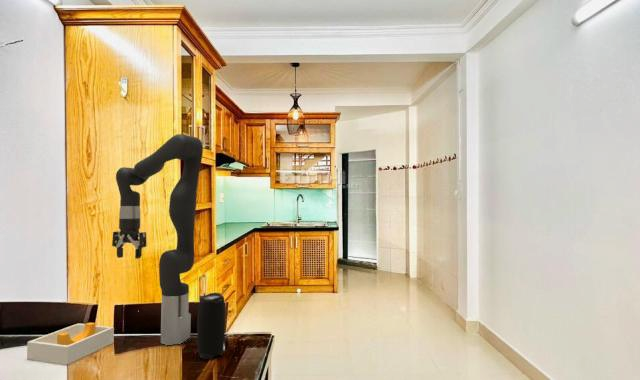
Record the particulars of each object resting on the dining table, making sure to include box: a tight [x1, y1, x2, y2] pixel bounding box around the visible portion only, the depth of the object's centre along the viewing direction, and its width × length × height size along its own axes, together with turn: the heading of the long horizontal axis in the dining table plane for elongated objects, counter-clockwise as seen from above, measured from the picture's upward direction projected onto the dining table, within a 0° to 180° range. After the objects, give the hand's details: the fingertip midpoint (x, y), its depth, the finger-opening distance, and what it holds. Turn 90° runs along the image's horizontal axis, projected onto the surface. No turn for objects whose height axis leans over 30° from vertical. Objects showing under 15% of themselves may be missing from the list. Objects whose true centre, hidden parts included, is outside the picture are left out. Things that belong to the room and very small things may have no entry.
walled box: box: [26, 323, 115, 366], centre depth 121 cm, size 16×18×6 cm
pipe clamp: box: [57, 322, 97, 346], centre depth 121 cm, size 12×4×6 cm, turn 166°
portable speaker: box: [196, 292, 226, 360], centre depth 119 cm, size 9×9×20 cm
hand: (128, 257), depth 143 cm, fingers open, 8 cm apart
